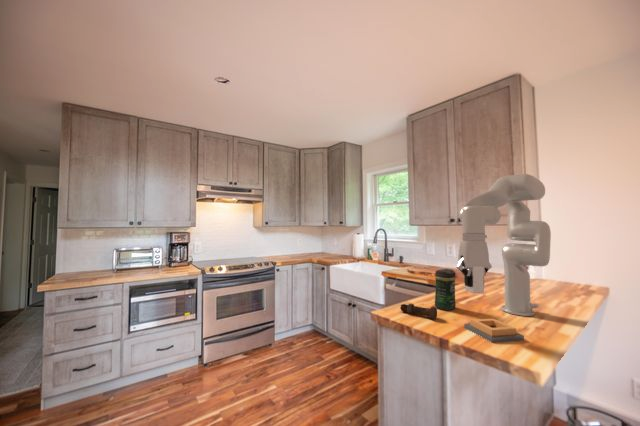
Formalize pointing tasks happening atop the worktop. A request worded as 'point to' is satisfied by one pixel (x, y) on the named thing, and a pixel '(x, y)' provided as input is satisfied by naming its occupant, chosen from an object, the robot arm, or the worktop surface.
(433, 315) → the bolt
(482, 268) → the block
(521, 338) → the square socket base
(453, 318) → the worktop surface
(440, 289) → the coffee jar
